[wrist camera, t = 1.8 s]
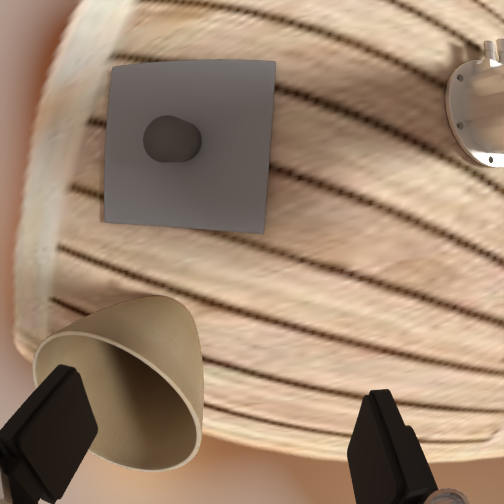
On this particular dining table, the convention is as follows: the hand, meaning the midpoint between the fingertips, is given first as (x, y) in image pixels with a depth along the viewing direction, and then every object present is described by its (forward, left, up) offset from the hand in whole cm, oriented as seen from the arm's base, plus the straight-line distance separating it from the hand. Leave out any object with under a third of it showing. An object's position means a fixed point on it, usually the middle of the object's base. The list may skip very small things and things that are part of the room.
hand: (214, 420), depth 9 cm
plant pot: (+11, -10, -25) cm, 29 cm away
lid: (-9, -8, -25) cm, 28 cm away
